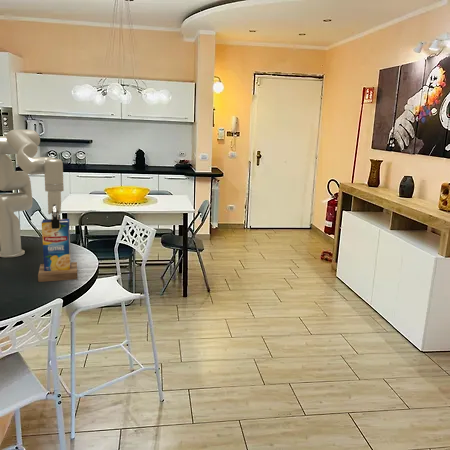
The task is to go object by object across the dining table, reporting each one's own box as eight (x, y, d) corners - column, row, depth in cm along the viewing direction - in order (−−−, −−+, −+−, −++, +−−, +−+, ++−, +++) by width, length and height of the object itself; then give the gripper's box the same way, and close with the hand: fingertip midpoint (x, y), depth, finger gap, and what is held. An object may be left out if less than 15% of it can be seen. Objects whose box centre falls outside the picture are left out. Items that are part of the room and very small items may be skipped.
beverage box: (70, 269, 197) (68, 222, 192) (44, 271, 194) (41, 222, 189) (71, 265, 203) (69, 218, 198) (45, 266, 200) (43, 219, 195)
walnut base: (40, 270, 204) (40, 264, 203) (77, 268, 209) (76, 262, 208) (38, 281, 189) (37, 275, 188) (77, 279, 194) (77, 272, 193)
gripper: (46, 184, 197) (48, 221, 201) (43, 190, 181) (45, 230, 185) (64, 184, 199) (65, 221, 203) (63, 190, 184) (64, 230, 187)
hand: (56, 225), depth 194 cm, fingers open, 9 cm apart
